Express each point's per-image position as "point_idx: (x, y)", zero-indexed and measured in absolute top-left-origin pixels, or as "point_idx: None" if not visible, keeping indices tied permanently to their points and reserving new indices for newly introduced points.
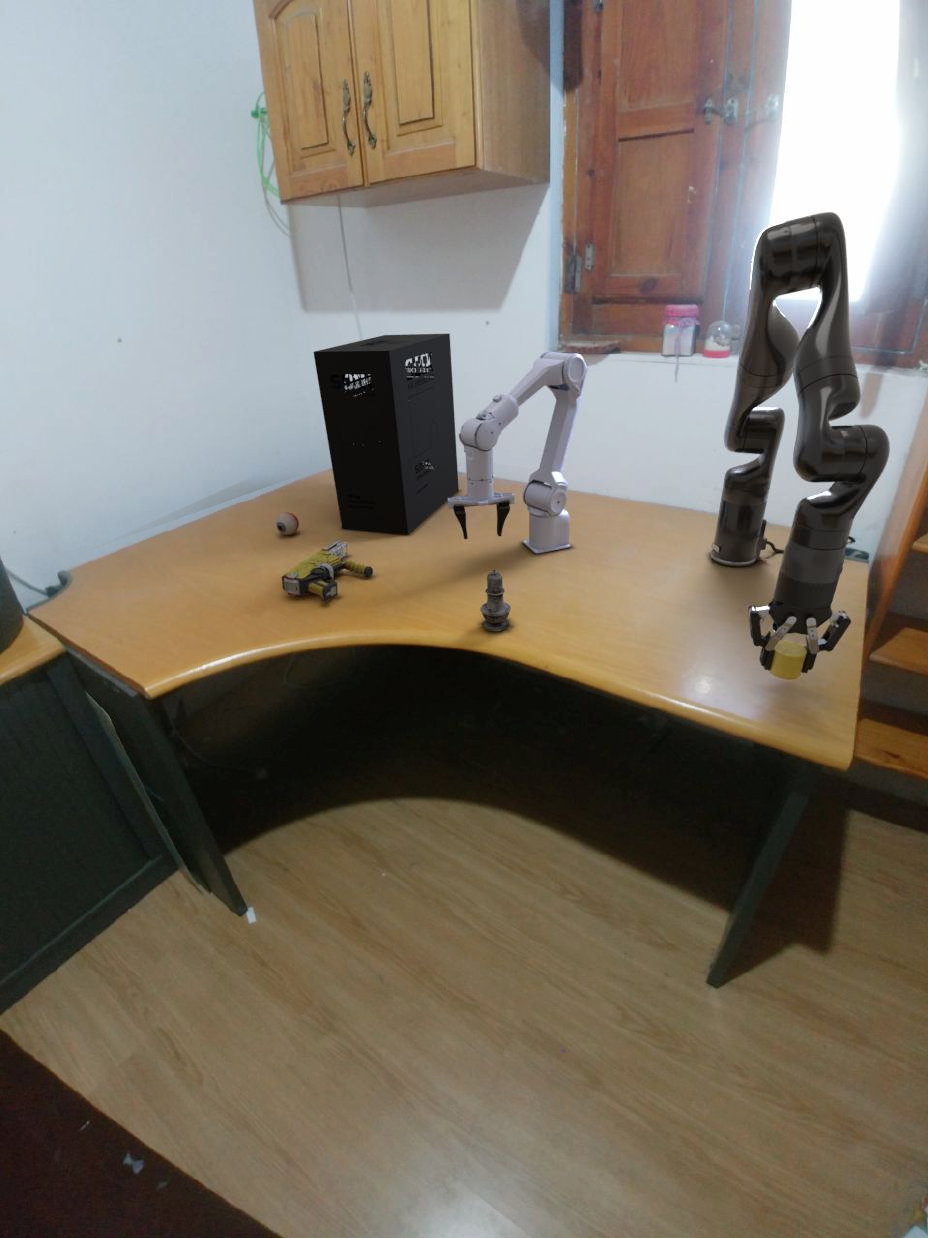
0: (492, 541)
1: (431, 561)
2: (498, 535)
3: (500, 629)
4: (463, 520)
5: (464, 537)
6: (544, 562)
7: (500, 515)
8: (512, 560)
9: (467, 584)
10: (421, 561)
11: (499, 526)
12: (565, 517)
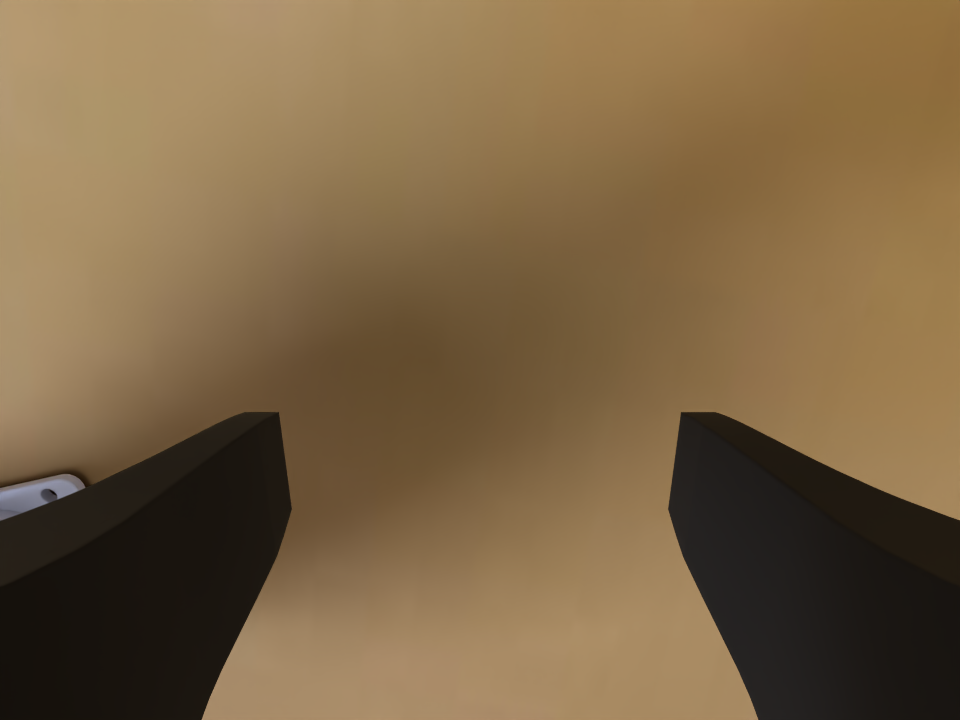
0: (375, 695)
1: None
2: (272, 415)
3: None
4: (929, 547)
5: (729, 418)
6: (8, 334)
7: (15, 567)
8: (254, 411)
9: (654, 46)
10: None
11: (194, 460)
12: None
